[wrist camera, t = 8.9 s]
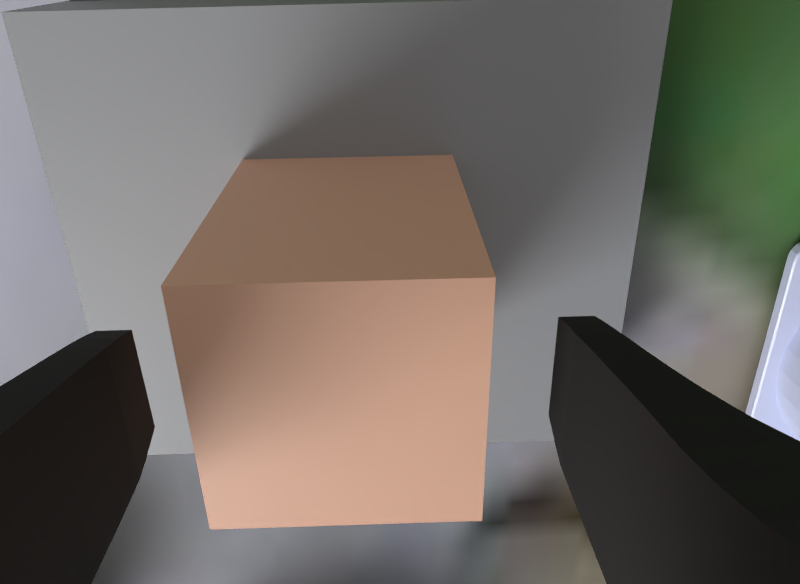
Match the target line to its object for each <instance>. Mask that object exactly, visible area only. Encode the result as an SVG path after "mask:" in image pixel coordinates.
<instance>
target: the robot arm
mask: <svg viewBox="0 0 800 584" xmlns="http://www.w3.org/2000/svg"><path fill="white" fill-rule="evenodd" d="M549 419H550V423H551V428H552V432H553V436H554V441H555V445H556V449H557V453H558V457H559V461H560V465H561V467H562V470H563V473H564V476H565V478H566V481H567V483H568V486H569V489H570V491H571V494H572V496H573V499H574V502H575V504H576V507H577V509H578V512H579V514H580V517H581V519H582V522H583V525H584V527H585V530H586V532H587V535H588V537H589V540H590V542H591V545H592V547H593V550H594V552H595V555H596V558H597V560H598V563H599V565H600V568H601V570H602V573H603V575H604V578H605V580H606V583H607V584H800V243H798V244H796V245H795V246H794V247H793V248H792V249H791V251H790V253H789V255H788V257H787V261H786V265H785V269H784V272H783V276H782V280H781V283H780V287H779V291H778V294H777V298H776V302H775V306H774V309H773V313H772V317H771V320H770V324H769V328H768V332H767V335H766V339H765V343H764V346H763V350H762V354H761V357H760V361H759V365H758V369H757V372H756V376H755V380H754V383H753V387H752V391H751V394H750V398H749V402H748V406H747V409H746V413H744V412H742V411H740V410H738V409H737V408H735V407H733V406H731V405H730V404H728V403H726V402H725V401H723V400H721V399H720V398H718V397H716V396H715V395H713V394H711V393H710V392H708V391H706V390H705V389H703V388H701V387H700V386H698V385H697V384H695V383H693V382H692V381H690V380H689V379H687V378H686V377H684V376H683V375H681V374H679V373H678V372H676V371H675V370H673V369H672V368H670V367H669V366H668V365H666V364H665V363H663V362H662V361H660V360H659V359H657V358H656V357H654V356H653V355H651V354H650V353H649V352H647V351H646V350H644V349H643V348H641V347H640V346H639V345H637V344H636V343H634V342H633V341H632V340H630V339H629V338H627V337H626V336H624V335H623V334H622V333H620V332H619V331H617V330H616V329H614V328H613V327H611V326H610V325H609V324H607V323H605V322H604V321H602V320H601V319H599V318H597V317H596V316H570V317H558V325H557V335H556V345H555V355H554V365H553V375H552V385H551V395H550V405H549ZM154 429H155V425H154V421H153V417H152V413H151V408H150V404H149V400H148V396H147V392H146V387H145V383H144V379H143V375H142V371H141V366H140V362H139V358H138V354H137V350H136V346H135V341H134V337H133V333H132V330H108V331H94V332H92V333H90V334H88V335H86V336H84V337H82V338H80V339H78V340H76V341H75V342H73V343H71V344H69V345H68V346H66V347H64V348H62V349H61V350H59V351H57V352H56V353H54V354H53V355H51V356H49V357H48V358H46V359H44V360H43V361H41V362H39V363H38V364H36V365H35V366H33V367H31V368H30V369H28V370H26V371H25V372H23V373H21V374H20V375H18V376H17V377H15V378H13V379H12V380H10V381H8V382H7V383H5V384H3V385H2V386H0V584H91V583H92V581H93V579H94V577H95V575H96V573H97V570H98V568H99V566H100V564H101V562H102V560H103V558H104V555H105V553H106V551H107V549H108V547H109V545H110V543H111V541H112V538H113V536H114V534H115V532H116V530H117V528H118V526H119V523H120V521H121V519H122V517H123V515H124V513H125V510H126V508H127V506H128V504H129V502H130V499H131V497H132V495H133V493H134V491H135V488H136V486H137V484H138V481H139V479H140V476H141V473H142V470H143V467H144V464H145V460H146V457H147V454H148V450H149V447H150V443H151V440H152V436H153V432H154Z"/></svg>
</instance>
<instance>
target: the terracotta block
mask: <svg viewBox="0 0 800 584" xmlns="http://www.w3.org/2000/svg"><path fill="white" fill-rule="evenodd" d="M495 284H496V276H495V274H494V271H493V268H492V265H491V262H490V259H489V257H488V254H487V251H486V248H485V245H484V242H483V240H482V237H481V234H480V231H479V228H478V225H477V223H476V220H475V217H474V214H473V211H472V208H471V206H470V203H469V200H468V197H467V194H466V191H465V189H464V186H463V183H462V180H461V177H460V174H459V172H458V169H457V166H456V163H455V160H454V157H453V155H422V156H377V157H333V158H288V159H243V160H242V161H241V163H240V164H239V166H238V167H237V169H236V170H235V172H234V174H233V175H232V177H231V178H230V180H229V181H228V183H227V184H226V186H225V187H224V189H223V191H222V192H221V194H220V195H219V197H218V198H217V200H216V201H215V203H214V204H213V206H212V208H211V209H210V211H209V212H208V214H207V215H206V217H205V218H204V220H203V221H202V223H201V225H200V226H199V228H198V229H197V231H196V232H195V234H194V235H193V237H192V238H191V240H190V242H189V243H188V245H187V246H186V248H185V249H184V251H183V252H182V254H181V256H180V257H179V259H178V260H177V262H176V263H175V265H174V266H173V268H172V269H171V271H170V273H169V274H168V276H167V277H166V279H165V280H164V282H163V283H162V285H161V290H162V295H163V300H164V305H165V309H166V314H167V319H168V324H169V329H170V334H171V339H172V344H173V349H174V354H175V359H176V364H177V369H178V374H179V379H180V384H181V389H182V394H183V399H184V404H185V409H186V414H187V418H188V423H189V428H190V433H191V438H192V443H193V448H194V453H195V458H196V463H197V468H198V473H199V478H200V483H201V488H202V493H203V498H204V503H205V508H206V513H207V518H208V522H209V527H210V529H240V528H272V527H303V526H334V525H365V524H396V523H428V522H459V521H482V513H483V495H484V478H485V460H486V442H487V425H488V407H489V390H490V372H491V355H492V337H493V319H494V302H495Z"/></svg>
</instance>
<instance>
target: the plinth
mask: <svg viewBox="0 0 800 584" xmlns="http://www.w3.org/2000/svg"><path fill="white" fill-rule="evenodd" d="M672 2H673V0H92V1H64V2H59V3H53V4H47V5H41V6H35V7H29V8H23V9H18V10H12V11H6V12H2V16H3V19H4V23H5V27H6V30H7V34H8V38H9V41H10V45H11V49H12V52H13V56H14V60H15V63H16V67H17V71H18V74H19V78H20V81H21V85H22V89H23V92H24V96H25V100H26V103H27V107H28V111H29V114H30V118H31V122H32V125H33V129H34V133H35V136H36V140H37V144H38V147H39V151H40V154H41V158H42V162H43V165H44V169H45V173H46V176H47V180H48V184H49V187H50V191H51V195H52V198H53V202H54V206H55V209H56V213H57V216H58V220H59V224H60V227H61V231H62V235H63V238H64V242H65V246H66V249H67V253H68V257H69V260H70V264H71V268H72V271H73V275H74V279H75V282H76V286H77V289H78V293H79V297H80V300H81V304H82V308H83V311H84V315H85V319H86V322H87V326H88V330H89V333H92V332H94V331H108V330H132V333H133V337H134V341H135V346H136V350H137V354H138V358H139V362H140V366H141V371H142V375H143V379H144V383H145V387H146V392H147V396H148V400H149V404H150V408H151V413H152V417H153V421H154V425H155V429H154V432H153V436H152V440H151V443H150V447H149V450H148V454H147V455H161V454H189V453H194V448H193V443H192V438H191V433H190V428H189V423H188V418H187V414H186V409H185V404H184V399H183V394H182V389H181V384H180V379H179V374H178V369H177V364H176V359H175V354H174V349H173V344H172V339H171V334H170V329H169V324H168V319H167V314H166V309H165V305H164V300H163V295H162V290H161V285H162V283H163V282H164V280H165V279H166V277H167V276H168V274H169V273H170V271H171V269H172V268H173V266H174V265H175V263H176V262H177V260H178V259H179V257H180V256H181V254H182V252H183V251H184V249H185V248H186V246H187V245H188V243H189V242H190V240H191V238H192V237H193V235H194V234H195V232H196V231H197V229H198V228H199V226H200V225H201V223H202V221H203V220H204V218H205V217H206V215H207V214H208V212H209V211H210V209H211V208H212V206H213V204H214V203H215V201H216V200H217V198H218V197H219V195H220V194H221V192H222V191H223V189H224V187H225V186H226V184H227V183H228V181H229V180H230V178H231V177H232V175H233V174H234V172H235V170H236V169H237V167H238V166H239V164H240V163H241V161H242V160H243V159H288V158H333V157H377V156H422V155H453V157H454V160H455V163H456V166H457V169H458V172H459V174H460V177H461V180H462V183H463V186H464V189H465V191H466V194H467V197H468V200H469V203H470V206H471V208H472V211H473V214H474V217H475V220H476V223H477V225H478V228H479V231H480V234H481V237H482V240H483V242H484V245H485V248H486V251H487V254H488V257H489V259H490V262H491V265H492V268H493V271H494V274H495V276H496V284H495V302H494V319H493V337H492V355H491V372H490V390H489V407H488V425H487V442H486V443H505V442H533V441H554V436H553V432H552V428H551V423H550V419H549V405H550V395H551V385H552V375H553V365H554V355H555V345H556V335H557V325H558V317H570V316H596V317H597V318H599V319H601V320H602V321H604V322H605V323H607V324H609V325H610V326H611V327H613V328H614V329H616V330H617V331H619V332H620V333H622V328H623V322H624V315H625V309H626V302H627V296H628V289H629V283H630V276H631V270H632V263H633V257H634V250H635V244H636V237H637V231H638V224H639V218H640V211H641V205H642V198H643V192H644V185H645V178H646V172H647V165H648V159H649V152H650V146H651V139H652V133H653V126H654V120H655V113H656V107H657V100H658V94H659V87H660V81H661V74H662V68H663V61H664V55H665V48H666V42H667V35H668V29H669V22H670V15H671V9H672Z"/></svg>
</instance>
